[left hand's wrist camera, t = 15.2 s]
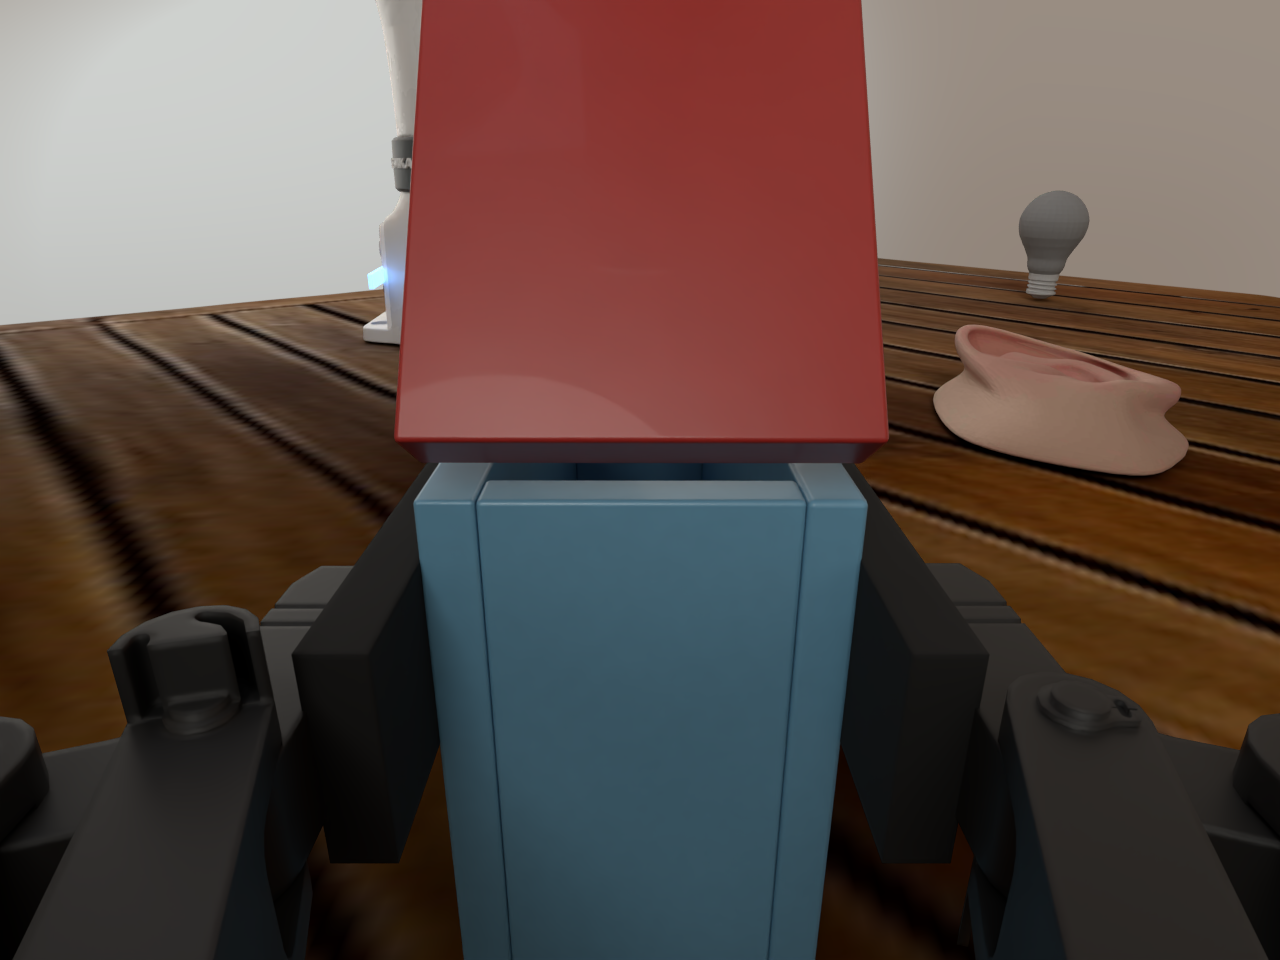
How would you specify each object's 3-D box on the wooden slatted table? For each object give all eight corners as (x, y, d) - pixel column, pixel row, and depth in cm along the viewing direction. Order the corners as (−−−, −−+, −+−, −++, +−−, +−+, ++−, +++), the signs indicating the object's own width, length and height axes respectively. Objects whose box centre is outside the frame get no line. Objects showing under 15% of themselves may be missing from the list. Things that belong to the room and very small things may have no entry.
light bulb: (1020, 302, 77) (1039, 191, 73) (998, 292, 82) (1015, 189, 79) (1084, 303, 77) (1107, 192, 73) (1058, 293, 82) (1078, 189, 78)
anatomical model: (1248, 394, 32) (940, 370, 35) (1221, 488, 33) (928, 455, 37) (1169, 332, 43) (943, 318, 47) (1151, 403, 45) (934, 385, 48)
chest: (559, 569, 27) (548, 296, 24) (719, 569, 27) (730, 296, 24) (470, 1026, 13) (411, 500, 9) (809, 1026, 13) (871, 502, 9)
